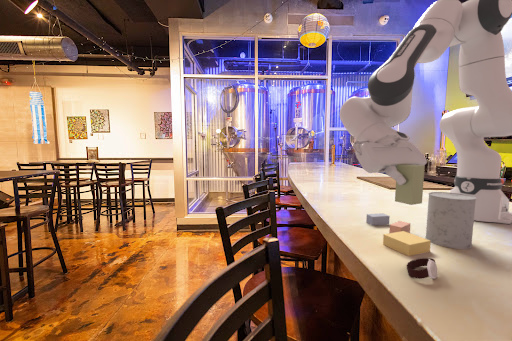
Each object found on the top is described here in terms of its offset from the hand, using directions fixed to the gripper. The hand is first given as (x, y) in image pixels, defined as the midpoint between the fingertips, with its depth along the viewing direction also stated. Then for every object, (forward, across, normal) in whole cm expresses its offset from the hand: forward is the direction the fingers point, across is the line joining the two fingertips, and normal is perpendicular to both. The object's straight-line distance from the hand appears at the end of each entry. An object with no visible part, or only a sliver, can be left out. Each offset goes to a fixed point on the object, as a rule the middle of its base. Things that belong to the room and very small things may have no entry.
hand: (412, 182), depth 56 cm
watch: (+18, -9, +6) cm, 21 cm away
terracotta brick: (+6, +8, +17) cm, 20 cm away
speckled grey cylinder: (+13, +14, +11) cm, 22 cm away
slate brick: (0, +10, +23) cm, 26 cm away
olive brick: (+3, 0, +4) cm, 5 cm away
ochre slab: (+11, 0, +12) cm, 17 cm away
